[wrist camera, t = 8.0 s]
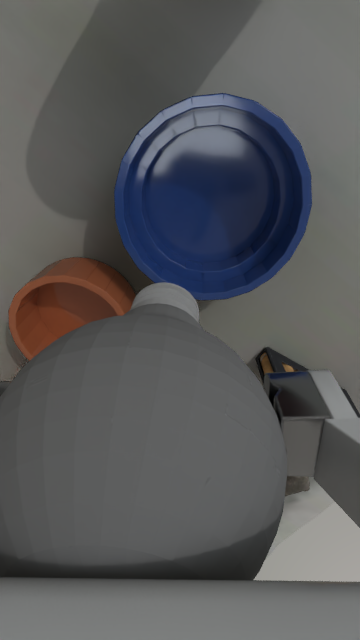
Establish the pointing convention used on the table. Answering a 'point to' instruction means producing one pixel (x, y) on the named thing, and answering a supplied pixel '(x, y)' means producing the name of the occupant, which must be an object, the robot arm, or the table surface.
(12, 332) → the terracotta dish
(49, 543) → the light bulb
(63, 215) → the table surface
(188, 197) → the blue bowl
